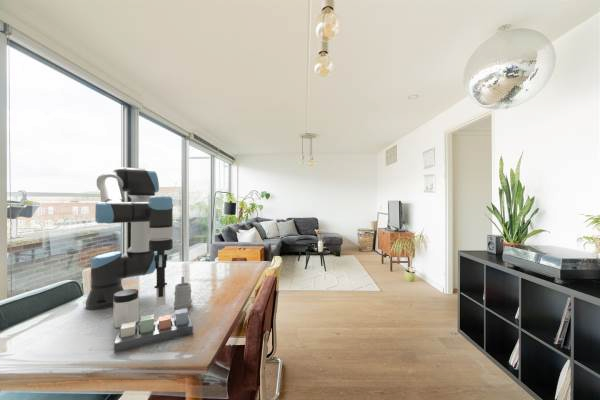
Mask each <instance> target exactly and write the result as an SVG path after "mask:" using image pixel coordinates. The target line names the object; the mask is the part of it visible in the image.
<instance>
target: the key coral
mask: <svg viewBox="0 0 600 400" xmlns="http://www.w3.org/2000/svg"><path fill="white" fill-rule="evenodd" d="M171 318H172V314H166V315H161V316H158V321H159V329H164V328H169V327H171Z"/></svg>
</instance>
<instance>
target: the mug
mask: <svg viewBox="0 0 600 400" xmlns="http://www.w3.org/2000/svg"><path fill="white" fill-rule="evenodd" d="M180 277H181V280H180V281H181V282H180V283H177V284H176V285H175V288H174V289H175V290H174V292H173V294H174V302H173V306H174V309H175V310H180V309H185V308H187V309H188V308H191V307H192V303H193V300H192V289H191V287H192V286H191V283H190V282H185V276H180Z"/></svg>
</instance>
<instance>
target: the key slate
mask: <svg viewBox="0 0 600 400" xmlns="http://www.w3.org/2000/svg"><path fill="white" fill-rule="evenodd" d="M174 312H175V313H174V315H175V316H174V317H175V324H176V326H178V325H182V324H187V323H188V315H189V311H188V308H185V309H175V310H174Z"/></svg>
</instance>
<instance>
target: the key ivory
mask: <svg viewBox="0 0 600 400" xmlns="http://www.w3.org/2000/svg"><path fill="white" fill-rule="evenodd" d="M136 325H137V322H131V323H125V324H122V326H121V327H120V328H121V338H122V337H127V336H132V335H136Z"/></svg>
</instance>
